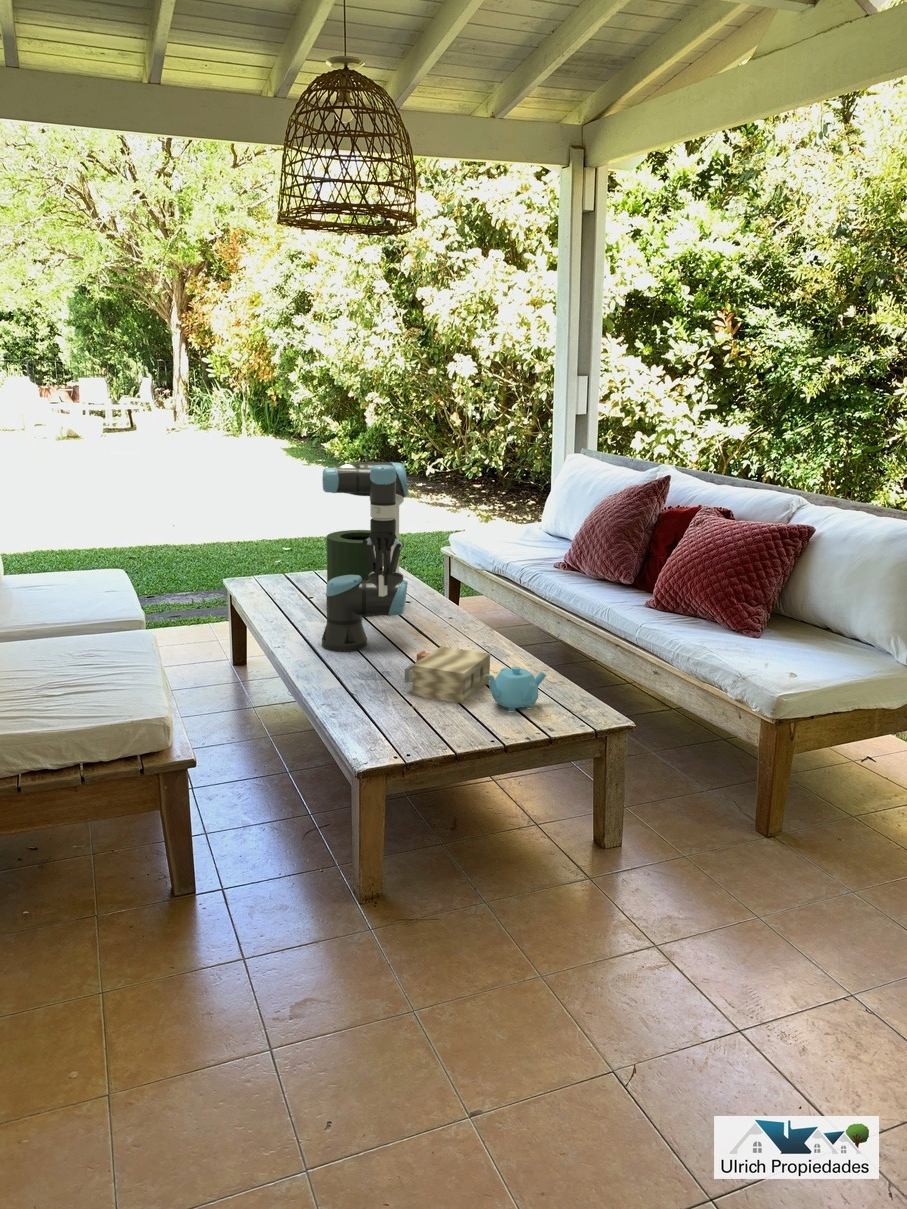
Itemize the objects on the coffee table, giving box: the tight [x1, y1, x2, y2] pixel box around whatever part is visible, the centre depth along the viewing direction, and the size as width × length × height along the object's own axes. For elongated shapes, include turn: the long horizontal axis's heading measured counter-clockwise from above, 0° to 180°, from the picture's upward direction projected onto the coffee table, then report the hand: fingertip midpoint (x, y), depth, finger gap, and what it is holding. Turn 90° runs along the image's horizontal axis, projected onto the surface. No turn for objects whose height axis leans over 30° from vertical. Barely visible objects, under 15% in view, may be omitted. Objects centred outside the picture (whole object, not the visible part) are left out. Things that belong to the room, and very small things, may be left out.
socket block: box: [411, 646, 491, 705], centre depth 281 cm, size 16×20×9 cm
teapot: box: [485, 666, 547, 712], centre depth 268 cm, size 15×14×11 cm
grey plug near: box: [404, 664, 413, 684], centre depth 276 cm, size 17×4×4 cm, turn 66°
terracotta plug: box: [415, 650, 431, 662], centre depth 289 cm, size 17×4×4 cm, turn 66°
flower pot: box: [326, 529, 381, 618], centre depth 362 cm, size 25×25×28 cm
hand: (383, 595), depth 289 cm, fingers closed
